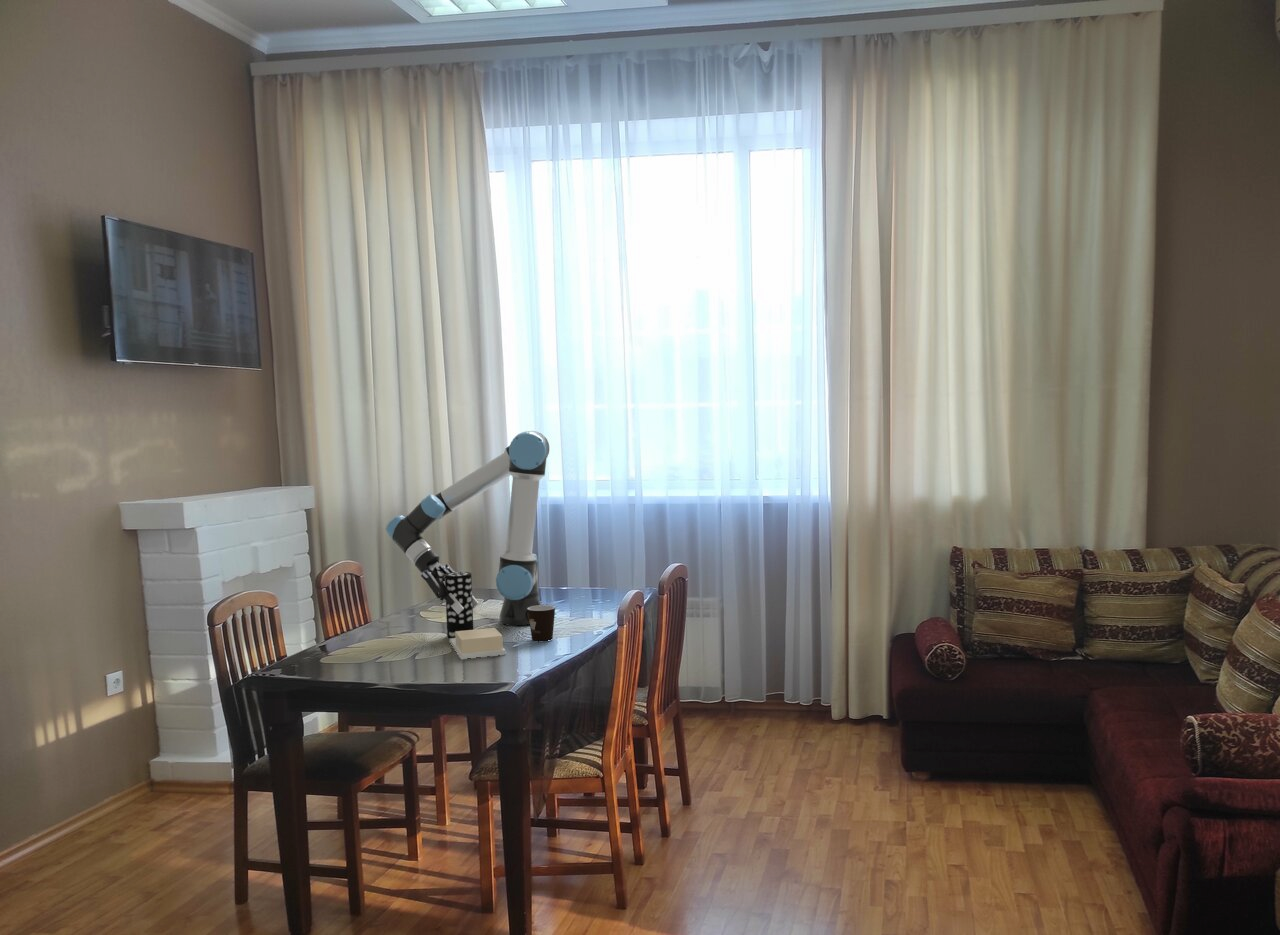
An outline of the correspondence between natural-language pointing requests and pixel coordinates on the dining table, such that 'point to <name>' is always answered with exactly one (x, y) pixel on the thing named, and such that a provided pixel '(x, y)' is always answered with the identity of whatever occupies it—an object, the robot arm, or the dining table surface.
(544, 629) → the coffee mug
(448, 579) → the spotted tube
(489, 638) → the stand
